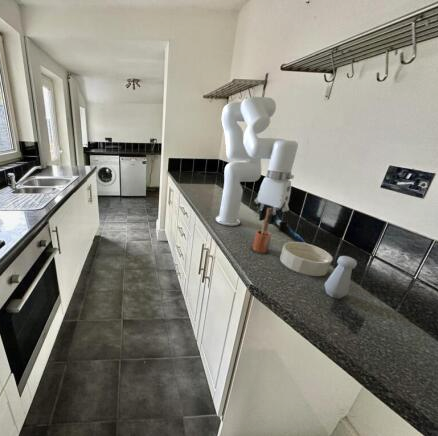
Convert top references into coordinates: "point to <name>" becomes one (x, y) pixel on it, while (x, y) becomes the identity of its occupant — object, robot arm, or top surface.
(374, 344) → the top surface
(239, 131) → the robot arm
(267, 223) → the wooden spoon
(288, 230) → the knife
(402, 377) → the top surface
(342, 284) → the salt shaker
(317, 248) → the bowl
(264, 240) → the pot
